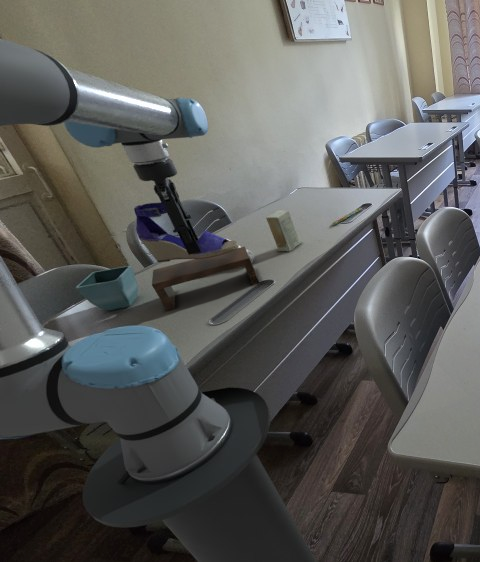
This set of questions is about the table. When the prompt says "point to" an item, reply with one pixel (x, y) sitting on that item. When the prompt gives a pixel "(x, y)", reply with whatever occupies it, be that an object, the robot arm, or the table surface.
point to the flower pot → (110, 288)
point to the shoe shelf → (198, 272)
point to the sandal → (174, 238)
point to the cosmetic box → (283, 230)
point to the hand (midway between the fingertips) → (194, 247)
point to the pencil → (346, 216)
